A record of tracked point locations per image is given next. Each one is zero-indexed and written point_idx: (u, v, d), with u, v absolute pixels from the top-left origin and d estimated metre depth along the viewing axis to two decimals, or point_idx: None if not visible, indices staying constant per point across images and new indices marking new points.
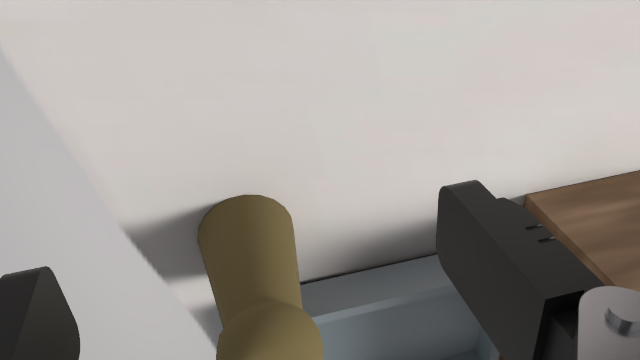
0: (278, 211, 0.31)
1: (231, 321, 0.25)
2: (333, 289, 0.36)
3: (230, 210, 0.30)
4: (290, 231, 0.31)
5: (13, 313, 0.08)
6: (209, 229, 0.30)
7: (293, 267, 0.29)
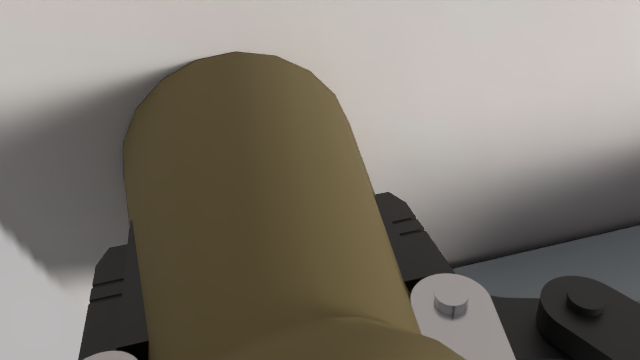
0: (325, 95, 0.12)
1: None
2: None
3: (200, 80, 0.11)
4: (355, 144, 0.12)
5: None
6: (143, 131, 0.11)
7: (381, 220, 0.10)
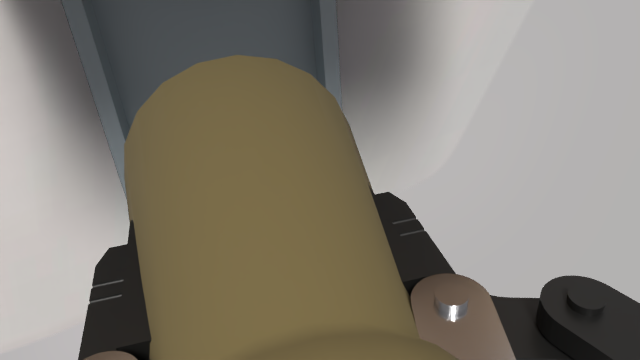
0: (325, 99, 0.12)
1: None
2: None
3: (200, 83, 0.11)
4: (355, 147, 0.12)
5: None
6: (144, 134, 0.11)
7: (381, 224, 0.10)
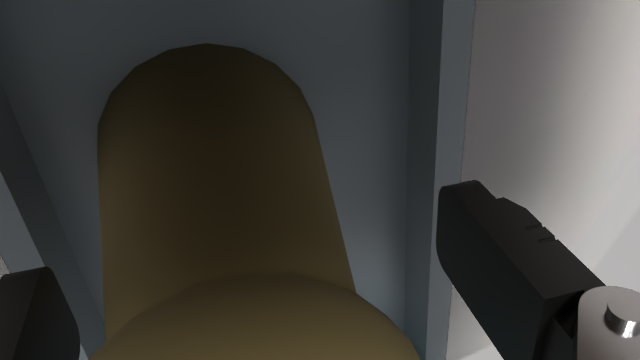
0: (288, 87, 0.13)
1: (108, 343, 0.06)
2: None
3: (169, 68, 0.12)
4: (314, 133, 0.13)
5: (13, 313, 0.08)
6: (115, 113, 0.12)
7: (327, 198, 0.10)
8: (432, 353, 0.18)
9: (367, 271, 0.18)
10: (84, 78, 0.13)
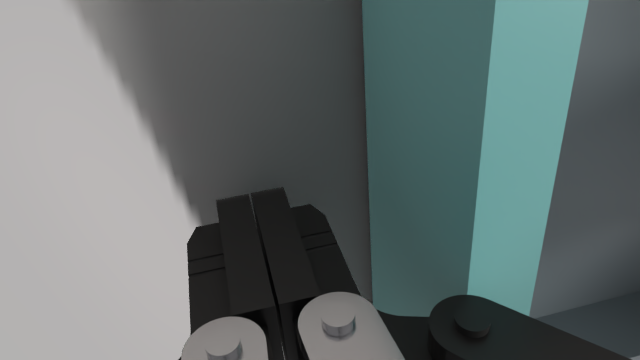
0: None
1: None
2: None
3: None
4: None
5: (243, 225, 0.10)
6: None
7: None
8: None
9: (568, 276, 0.15)
10: None
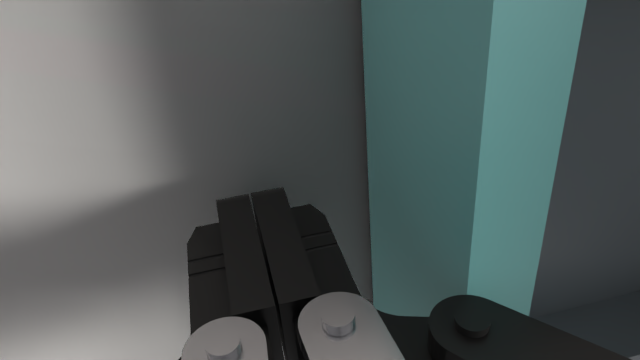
0: None
1: None
2: None
3: None
4: None
5: (244, 225, 0.10)
6: None
7: None
8: None
9: (569, 275, 0.15)
10: None
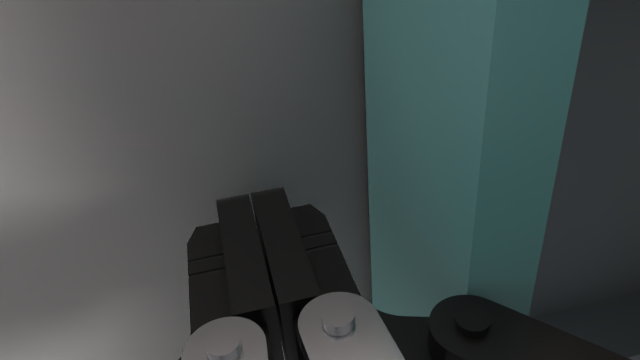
0: None
1: None
2: None
3: None
4: None
5: (244, 225, 0.10)
6: None
7: None
8: None
9: (568, 275, 0.15)
10: None
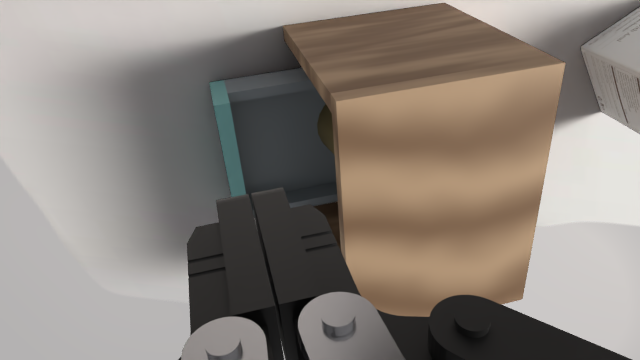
0: None
1: None
2: (264, 78, 0.42)
3: None
4: None
5: (244, 225, 0.10)
6: None
7: None
8: None
9: (291, 177, 0.48)
10: None
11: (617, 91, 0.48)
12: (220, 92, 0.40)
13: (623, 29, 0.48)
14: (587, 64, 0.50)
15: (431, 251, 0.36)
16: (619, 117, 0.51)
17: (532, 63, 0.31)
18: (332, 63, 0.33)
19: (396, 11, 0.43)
